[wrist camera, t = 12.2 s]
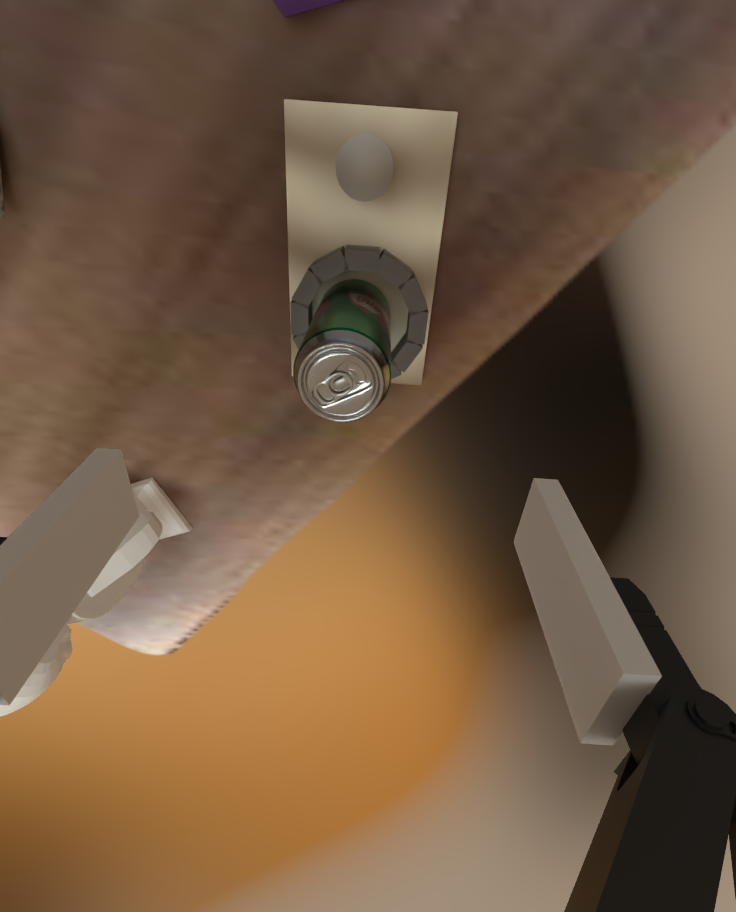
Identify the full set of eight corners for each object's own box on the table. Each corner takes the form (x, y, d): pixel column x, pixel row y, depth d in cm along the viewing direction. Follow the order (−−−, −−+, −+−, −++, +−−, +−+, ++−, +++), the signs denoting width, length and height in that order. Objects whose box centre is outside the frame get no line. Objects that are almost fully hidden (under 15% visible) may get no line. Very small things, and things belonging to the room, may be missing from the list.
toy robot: (94, 554, 49) (-61, 763, 32) (35, 489, 44) (-181, 692, 27) (209, 524, 46) (106, 735, 29) (158, 451, 41) (2, 651, 25)
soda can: (403, 324, 33) (410, 398, 23) (346, 361, 35) (330, 445, 25) (363, 261, 31) (352, 313, 21) (304, 304, 33) (268, 371, 23)
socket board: (287, 101, 28) (264, 87, 22) (455, 113, 28) (471, 102, 22) (294, 370, 37) (279, 404, 31) (420, 379, 37) (425, 415, 32)
